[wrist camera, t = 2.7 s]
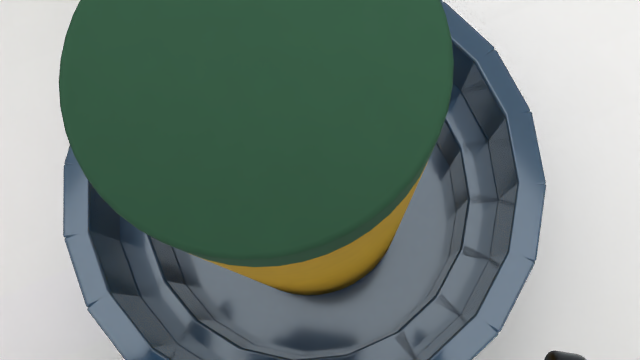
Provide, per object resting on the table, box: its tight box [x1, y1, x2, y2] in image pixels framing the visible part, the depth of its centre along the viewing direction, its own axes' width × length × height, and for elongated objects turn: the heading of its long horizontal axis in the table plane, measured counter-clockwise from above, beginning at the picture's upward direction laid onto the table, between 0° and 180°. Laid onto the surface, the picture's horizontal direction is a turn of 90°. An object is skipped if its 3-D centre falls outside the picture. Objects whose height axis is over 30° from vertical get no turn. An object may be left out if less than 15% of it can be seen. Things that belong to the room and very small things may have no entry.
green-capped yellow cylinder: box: [59, 0, 454, 295], centre depth 14 cm, size 6×6×11 cm
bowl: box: [63, 0, 546, 360], centre depth 17 cm, size 12×12×5 cm
